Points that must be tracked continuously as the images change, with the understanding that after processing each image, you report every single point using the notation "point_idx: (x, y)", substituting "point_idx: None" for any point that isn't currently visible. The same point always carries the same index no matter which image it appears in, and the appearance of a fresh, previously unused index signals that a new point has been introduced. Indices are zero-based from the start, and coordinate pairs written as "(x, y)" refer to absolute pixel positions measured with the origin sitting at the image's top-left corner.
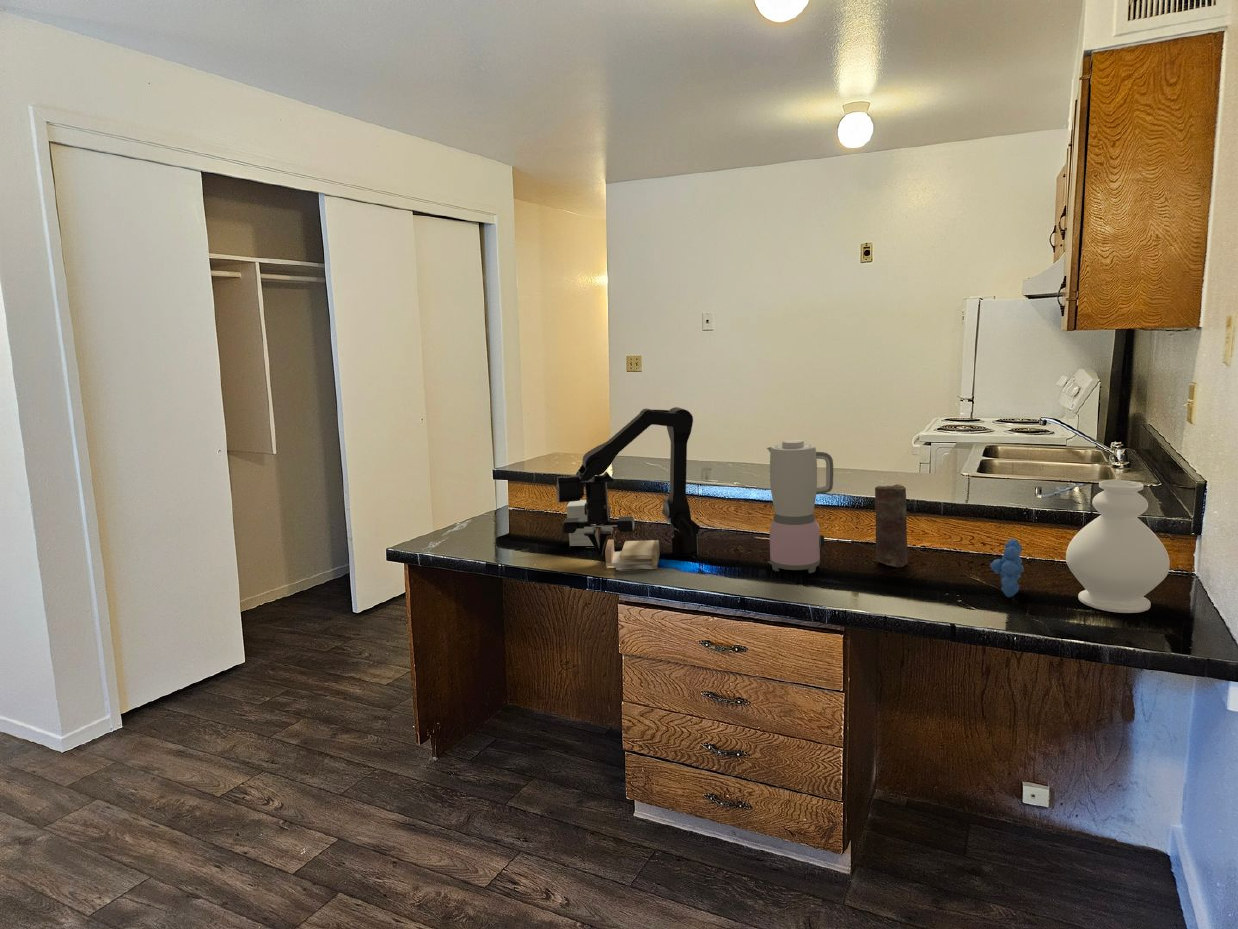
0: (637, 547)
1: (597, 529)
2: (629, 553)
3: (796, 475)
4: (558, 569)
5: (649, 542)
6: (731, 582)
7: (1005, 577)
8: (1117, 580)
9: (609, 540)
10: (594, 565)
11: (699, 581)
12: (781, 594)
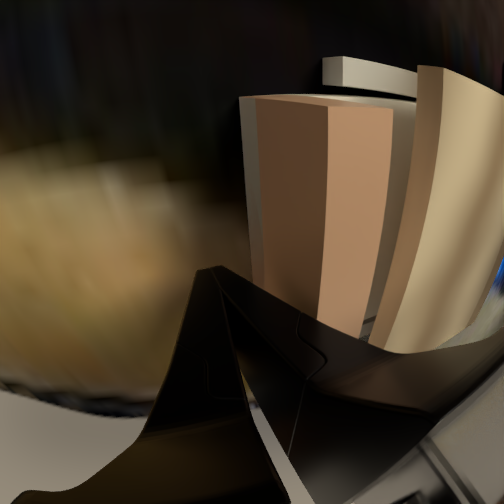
0: (470, 244)
1: (279, 485)
2: (412, 347)
3: None
4: (8, 365)
5: None
6: (490, 315)
7: None
8: None
9: (349, 157)
10: (166, 293)
11: (464, 330)
12: (496, 332)
